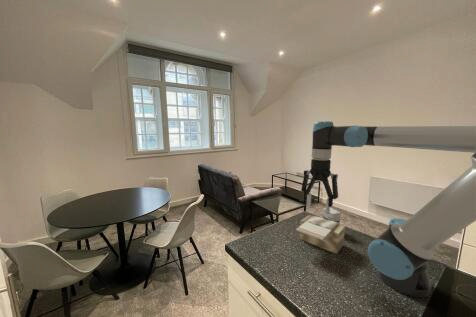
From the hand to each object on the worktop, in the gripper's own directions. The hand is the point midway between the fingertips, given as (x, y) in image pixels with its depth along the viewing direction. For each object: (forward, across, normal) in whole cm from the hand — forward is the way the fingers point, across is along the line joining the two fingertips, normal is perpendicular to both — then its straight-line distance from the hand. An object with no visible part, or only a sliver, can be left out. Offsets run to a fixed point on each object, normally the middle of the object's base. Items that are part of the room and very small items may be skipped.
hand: (317, 210), depth 85 cm
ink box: (+21, +3, -28) cm, 36 cm away
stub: (+11, +2, -2) cm, 12 cm away
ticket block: (+21, +2, -12) cm, 25 cm away
